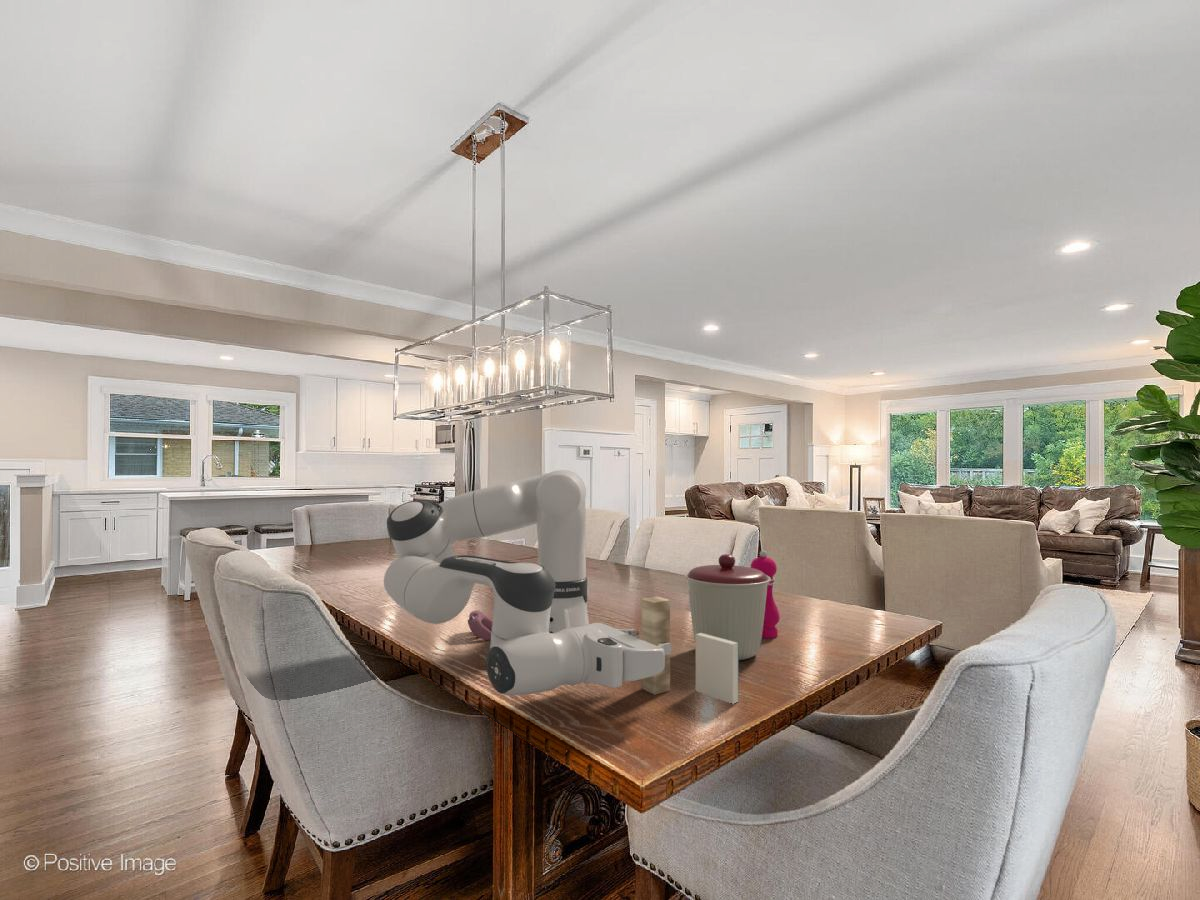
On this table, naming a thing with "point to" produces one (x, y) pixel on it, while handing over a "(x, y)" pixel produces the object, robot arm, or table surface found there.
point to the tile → (717, 667)
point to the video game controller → (480, 625)
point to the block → (656, 639)
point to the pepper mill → (768, 595)
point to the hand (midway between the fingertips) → (652, 640)
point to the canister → (729, 603)
